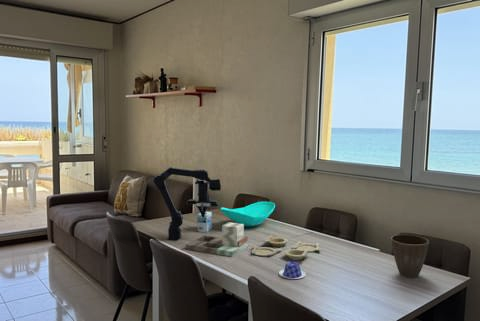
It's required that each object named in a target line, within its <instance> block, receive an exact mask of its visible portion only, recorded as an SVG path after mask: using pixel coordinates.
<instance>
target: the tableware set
mask: <svg viewBox="0 0 480 321" xmlns="http://www.w3.org/2000/svg"><path fill="white" fill-rule="evenodd" d="M263 242H265V243H269V244H270V246H272V247H268V246H267V247H265V246H264V247H263V246H261V247H259V245H252V249H251V254H252V255H255V256H258V257H271V256H273V255H274V256H275V255H276V254H277V253H279V252H281V251H282V250H283V248H276V249H275V248H273V247H283V246H284V245H285V244H287V243H288V242H289V240H288V239H287V238H285V237H279V236H277V237H274V235H273V234H270V235H269V236H268V237H267V238H266V239H265V238H264V239H263ZM319 245H320V243H318V242H315V243H308V242H306V243H305V242H303V243H302V241H298V242H296V243H295V244H294V245H293V246H291V249H289V248H288V249H287V250H285V251H284V252H283V253H284V255H286V256H287V257H288V258H289V259H290V260H293V261H300V260H303V259H304V258H305V257H306V256H307V255H308V253H313V252H314V253H315V252H318V251H321V252H322V248H321V246H319ZM259 250H260V252H257V251H259Z"/></svg>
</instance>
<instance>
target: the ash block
mask: <svg viewBox="0 0 480 321" xmlns="http://www.w3.org/2000/svg"><path fill="white" fill-rule="evenodd" d="M244 228H245V226H244V224H239V223H237V222H230V221H229V222H226V223H225V224H222V225H221V238H222V244H226V245H233V246H238V241H239V240H241V239H242V238H244V237H245V235H244V234H245V230H244Z"/></svg>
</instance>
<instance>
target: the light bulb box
mask: <svg viewBox="0 0 480 321" xmlns="http://www.w3.org/2000/svg"><path fill="white" fill-rule="evenodd" d="M196 223H197V232H200V233H202V232H203V233H208V232H209V231H210V230H211V229H212V228H213V213H212V211H206V213H205V216H204V217H202V215H201V213H200V212H199V213H198V214H197V221H196Z"/></svg>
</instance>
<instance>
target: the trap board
mask: <svg viewBox="0 0 480 321" xmlns="http://www.w3.org/2000/svg"><path fill="white" fill-rule="evenodd" d="M248 237H249V236H247V235H246V236H244V238H242V239H241V240H239V241H238V246H233V245H226V244H222V237H220V236H219V237H217V236H211V235H205V234H204V235H203V236H201V237H198V238H196V239H194V240H192V241H189V242H188V243H186V244H185V249H186V250H190V251H195V252H196V251H197V252H203V253H207V254H208V253H210V254H214V255H219V256H220V255H221V256H227V257H234V256H235V255H238V253H240V252H241V251H243V250H245V248H247V247H249V240H248Z"/></svg>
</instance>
